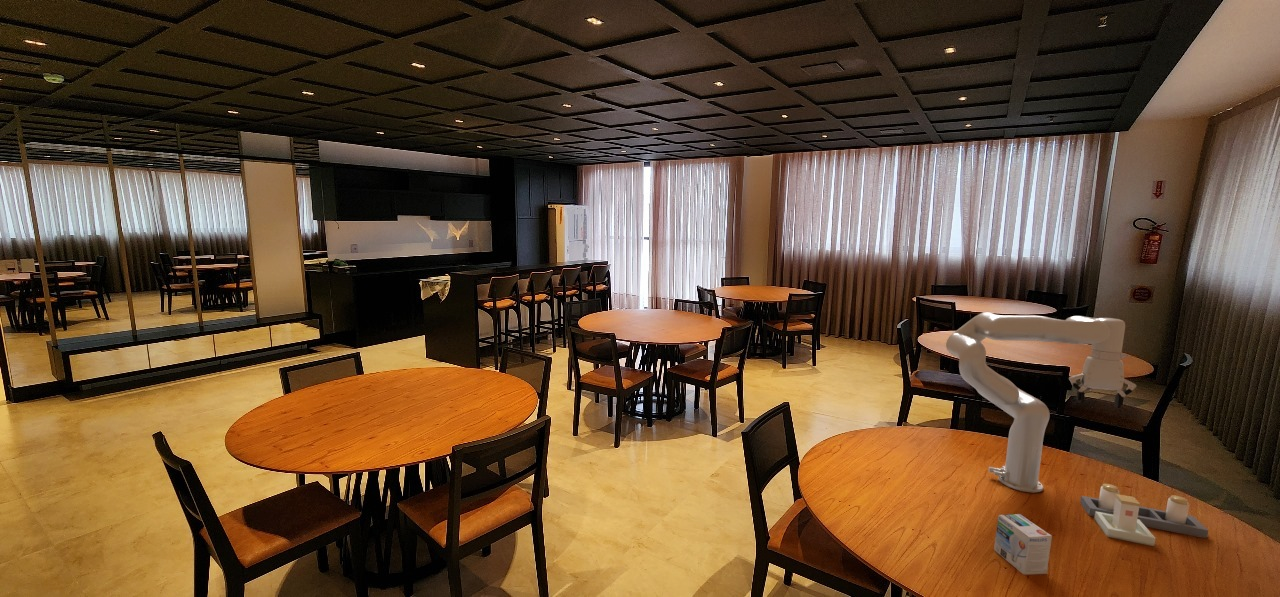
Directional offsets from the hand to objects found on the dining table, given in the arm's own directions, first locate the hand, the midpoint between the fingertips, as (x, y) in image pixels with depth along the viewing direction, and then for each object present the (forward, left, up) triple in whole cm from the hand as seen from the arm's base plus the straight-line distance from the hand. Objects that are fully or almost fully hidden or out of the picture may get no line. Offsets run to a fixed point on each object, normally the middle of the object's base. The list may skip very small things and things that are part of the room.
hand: (1098, 404), depth 174 cm
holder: (+8, -16, -30) cm, 35 cm away
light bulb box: (-30, -58, -31) cm, 72 cm away
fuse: (+1, -27, -30) cm, 40 cm away
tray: (+1, -27, -30) cm, 41 cm away
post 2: (+16, -16, -30) cm, 38 cm away
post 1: (0, -16, -30) cm, 34 cm away
